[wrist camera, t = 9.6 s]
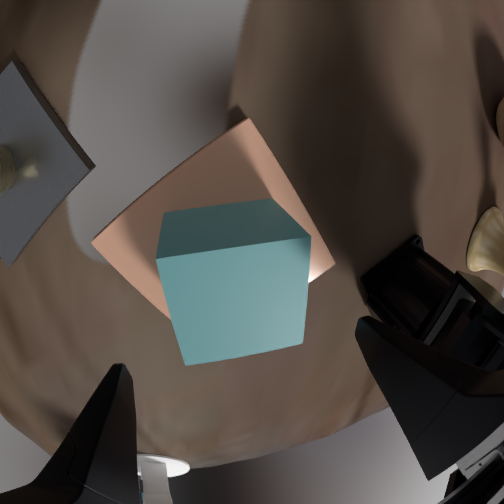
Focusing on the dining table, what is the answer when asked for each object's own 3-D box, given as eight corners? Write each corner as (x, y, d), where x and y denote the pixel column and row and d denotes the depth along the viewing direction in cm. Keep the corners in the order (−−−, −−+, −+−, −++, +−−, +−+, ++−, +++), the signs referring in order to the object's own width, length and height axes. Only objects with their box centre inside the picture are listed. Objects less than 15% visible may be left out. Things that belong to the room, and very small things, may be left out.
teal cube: (272, 198, 15) (311, 236, 11) (273, 287, 18) (302, 343, 14) (163, 212, 14) (155, 259, 10) (181, 302, 17) (185, 365, 13)
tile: (246, 118, 14) (249, 118, 13) (330, 258, 19) (335, 263, 19) (94, 237, 15) (90, 242, 14) (205, 341, 20) (206, 348, 19)
